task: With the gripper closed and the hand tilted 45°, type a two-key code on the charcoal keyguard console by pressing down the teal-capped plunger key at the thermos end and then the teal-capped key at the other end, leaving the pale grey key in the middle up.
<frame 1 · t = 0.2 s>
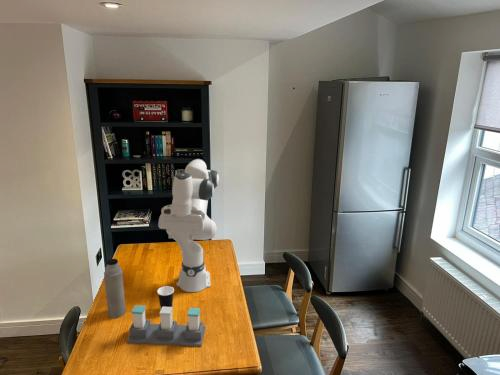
hand: (180, 238, 167), 39 cm above the table, tool pointing down, fingers open, 8 cm apart
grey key: (166, 318, 159), point 9 cm above the table, slide at 0.0 cm
teal key B: (194, 320, 159), point 9 cm above the table, slide at 0.0 cm
thermos bottle: (117, 313, 176), on the table
teal key A: (139, 317, 160), point 8 cm above the table, slide at 0.0 cm
dixie cup: (166, 310, 179), on the table
console: (167, 335, 162), on the table
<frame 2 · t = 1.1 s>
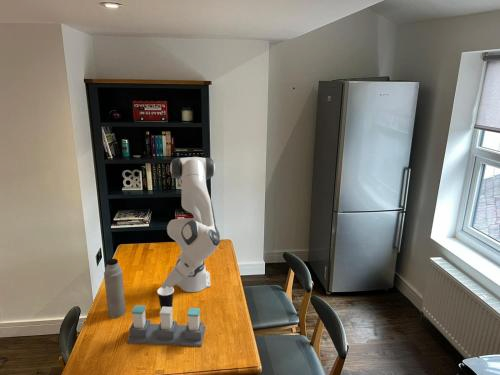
hand: (166, 281, 155), 27 cm above the table, tool tilted 45°, fingers open, 8 cm apart
nothing on the table moved.
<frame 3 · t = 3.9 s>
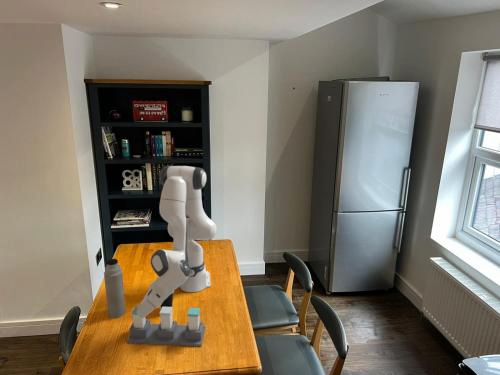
hand: (138, 308, 158), 13 cm above the table, tool tilted 45°, fingers closed
teal key A: (139, 318, 160), point 8 cm above the table, slide at 0.5 cm, touching gripper
everything else where it was.
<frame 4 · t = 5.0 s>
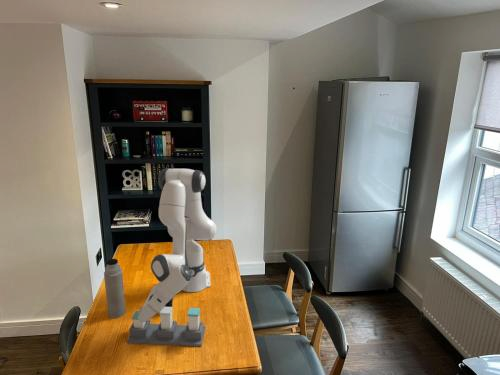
hand: (139, 312, 159), 11 cm above the table, tool tilted 45°, fingers closed
teal key A: (139, 323, 161), point 6 cm above the table, slide at 2.8 cm
everything else where it was.
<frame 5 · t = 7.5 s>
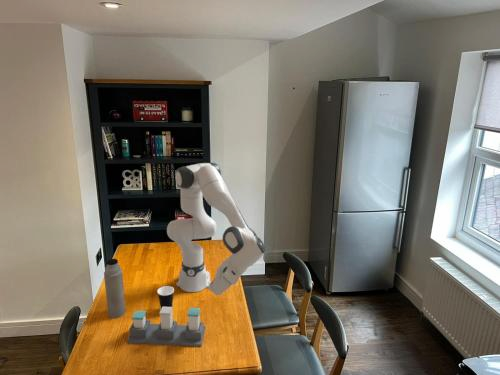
hand: (209, 287, 154), 25 cm above the table, tool tilted 45°, fingers closed
nothing on the table moved.
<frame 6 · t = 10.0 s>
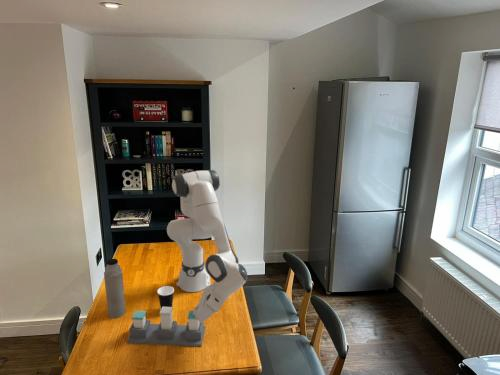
hand: (194, 312, 158), 12 cm above the table, tool tilted 45°, fingers closed, pressing on teal key B
teal key B: (194, 322, 159), point 7 cm above the table, slide at 1.4 cm, touching gripper
everything else where it was.
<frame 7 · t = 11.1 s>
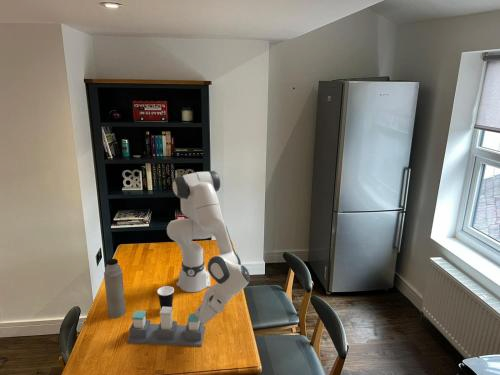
hand: (196, 313, 158), 12 cm above the table, tool tilted 45°, fingers closed
teal key B: (194, 325, 160), point 6 cm above the table, slide at 2.8 cm
everything else where it was.
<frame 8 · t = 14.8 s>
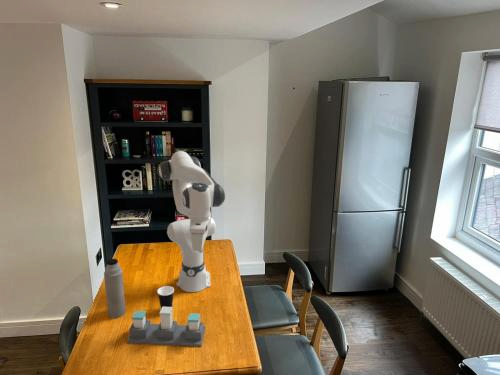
hand: (201, 251, 159), 37 cm above the table, tool pointing down, fingers closed
nothing on the table moved.
at the end: teal key A slide at 2.8 cm; teal key B slide at 2.8 cm; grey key slide at 0.0 cm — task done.
